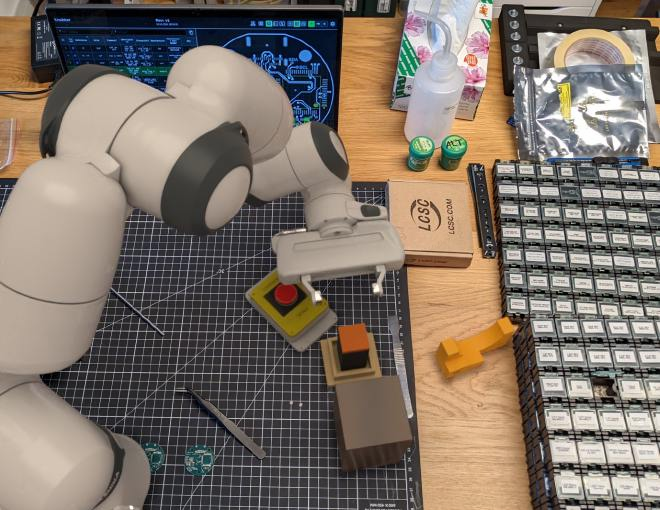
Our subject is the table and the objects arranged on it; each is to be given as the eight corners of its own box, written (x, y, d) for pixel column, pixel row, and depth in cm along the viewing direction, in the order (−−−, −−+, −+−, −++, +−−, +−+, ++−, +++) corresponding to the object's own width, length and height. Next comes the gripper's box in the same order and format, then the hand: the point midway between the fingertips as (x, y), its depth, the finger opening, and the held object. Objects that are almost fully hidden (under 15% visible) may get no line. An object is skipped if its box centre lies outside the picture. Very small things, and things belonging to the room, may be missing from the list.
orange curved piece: (446, 378, 102) (453, 365, 97) (434, 355, 104) (441, 341, 99) (509, 354, 105) (520, 339, 99) (497, 331, 107) (507, 316, 101)
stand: (342, 472, 95) (345, 450, 81) (332, 414, 99) (334, 384, 85) (399, 463, 96) (413, 439, 82) (387, 406, 100) (398, 374, 86)
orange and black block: (341, 371, 102) (342, 352, 94) (336, 347, 104) (338, 326, 96) (366, 367, 102) (369, 348, 94) (361, 343, 104) (364, 322, 96)
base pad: (327, 387, 101) (327, 381, 99) (320, 342, 105) (320, 335, 103) (381, 379, 102) (383, 373, 100) (372, 334, 106) (373, 327, 103)
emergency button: (281, 252, 109) (340, 309, 104) (282, 264, 113) (340, 319, 107) (240, 285, 106) (299, 345, 100) (243, 296, 109) (300, 354, 104)
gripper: (268, 221, 97) (278, 300, 91) (395, 205, 99) (415, 281, 93) (271, 242, 103) (281, 317, 96) (391, 226, 105) (409, 299, 98)
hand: (347, 299), depth 94 cm, fingers open, 8 cm apart
